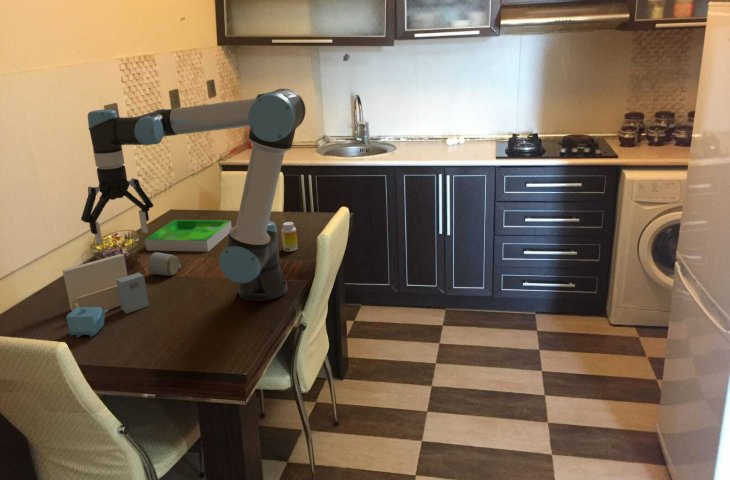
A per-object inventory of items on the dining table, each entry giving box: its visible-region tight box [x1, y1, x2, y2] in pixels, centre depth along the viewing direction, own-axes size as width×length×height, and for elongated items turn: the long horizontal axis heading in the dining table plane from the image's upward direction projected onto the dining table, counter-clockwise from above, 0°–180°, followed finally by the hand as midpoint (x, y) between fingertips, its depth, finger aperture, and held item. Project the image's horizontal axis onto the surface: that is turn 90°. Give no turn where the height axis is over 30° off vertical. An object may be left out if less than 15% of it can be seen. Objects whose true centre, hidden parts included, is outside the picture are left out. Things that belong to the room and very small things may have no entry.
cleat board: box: [62, 253, 129, 312], centre depth 189 cm, size 9×18×13 cm, turn 134°
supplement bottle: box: [280, 221, 299, 252], centre depth 231 cm, size 6×6×10 cm
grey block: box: [116, 272, 150, 314], centre depth 186 cm, size 4×7×10 cm, turn 134°
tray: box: [144, 219, 233, 253], centre depth 247 cm, size 25×25×5 cm
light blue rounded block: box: [65, 307, 110, 338], centre depth 173 cm, size 12×6×8 cm, turn 90°
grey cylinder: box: [147, 251, 182, 277], centre depth 214 cm, size 11×8×8 cm
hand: (122, 237), depth 181 cm, fingers open, 13 cm apart
